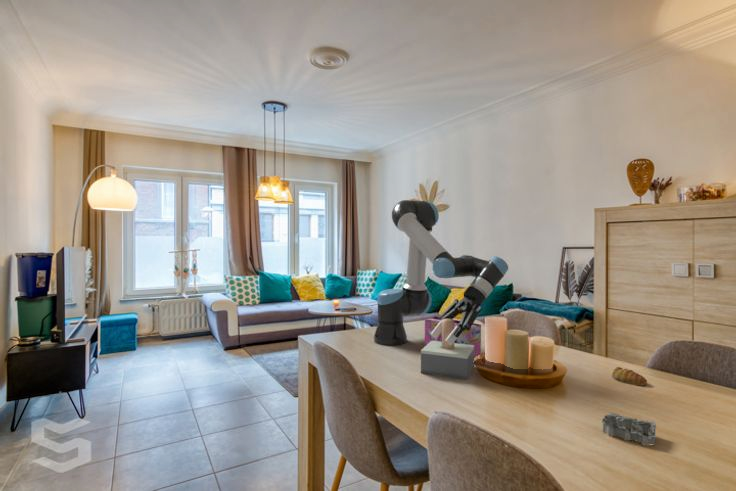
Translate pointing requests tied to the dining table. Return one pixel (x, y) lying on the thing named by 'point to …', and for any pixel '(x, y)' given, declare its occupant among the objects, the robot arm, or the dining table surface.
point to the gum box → (465, 337)
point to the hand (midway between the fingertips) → (440, 339)
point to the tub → (447, 365)
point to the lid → (444, 347)
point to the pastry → (628, 376)
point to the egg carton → (620, 424)
